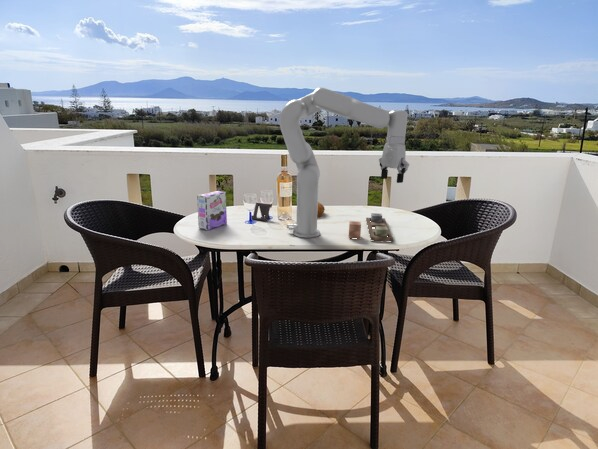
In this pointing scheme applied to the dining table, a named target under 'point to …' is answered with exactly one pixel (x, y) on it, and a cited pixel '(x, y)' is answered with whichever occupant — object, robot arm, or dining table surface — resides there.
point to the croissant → (320, 210)
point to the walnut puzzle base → (378, 228)
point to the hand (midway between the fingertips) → (391, 180)
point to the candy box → (212, 210)
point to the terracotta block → (354, 229)
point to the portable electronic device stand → (262, 211)
